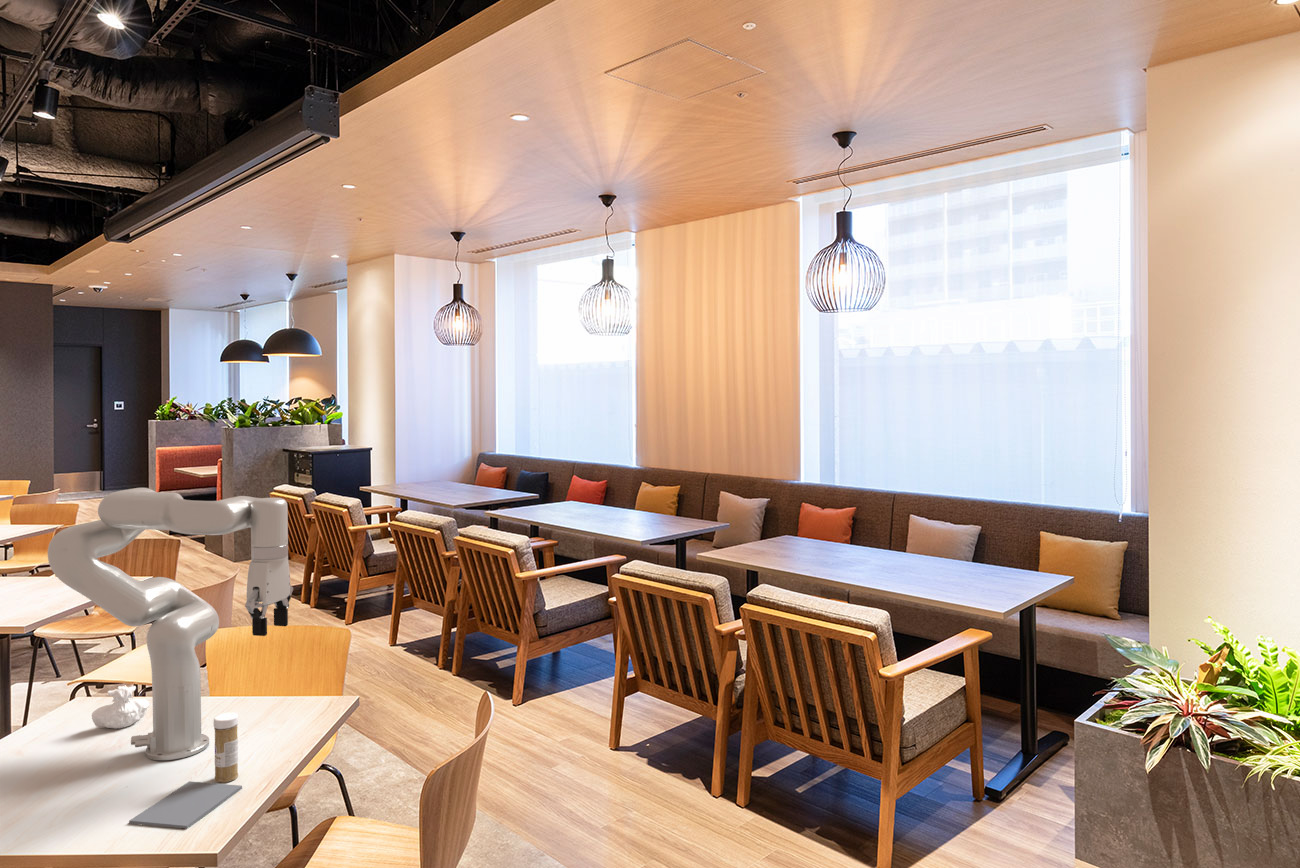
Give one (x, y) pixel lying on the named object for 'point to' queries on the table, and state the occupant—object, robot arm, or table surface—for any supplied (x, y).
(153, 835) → the table surface
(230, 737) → the sprinkles bottle
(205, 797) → the mat
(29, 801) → the table surface
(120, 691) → the white tied bag
